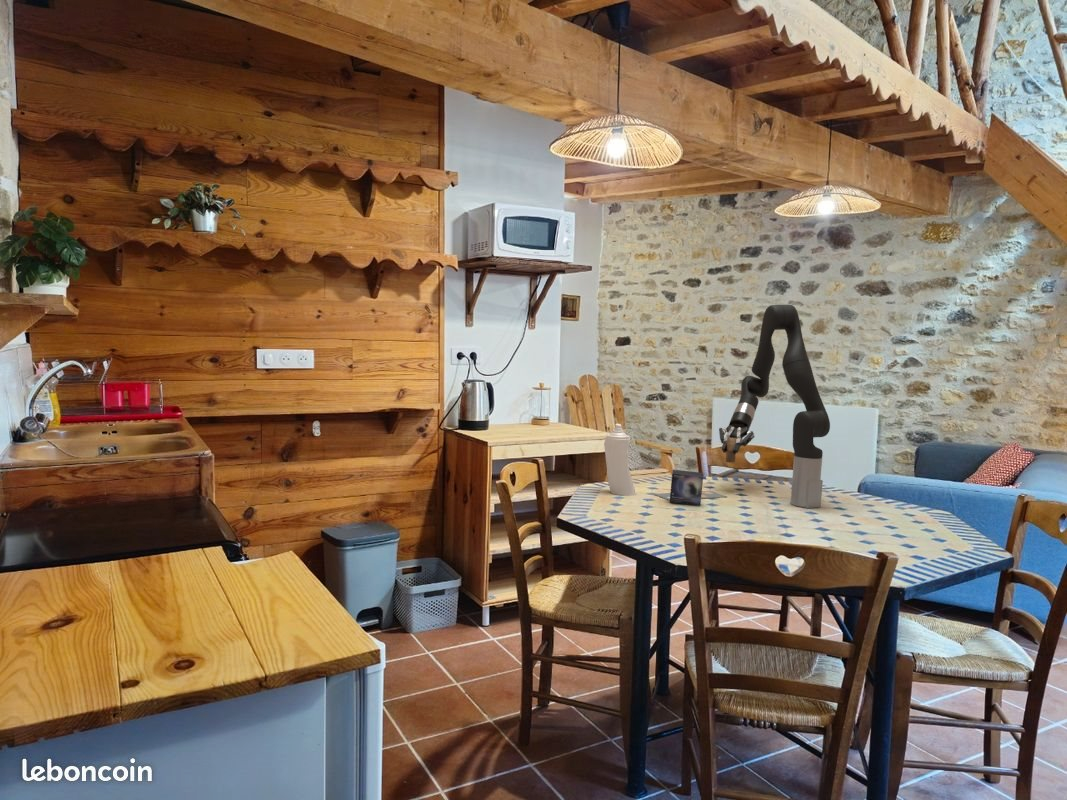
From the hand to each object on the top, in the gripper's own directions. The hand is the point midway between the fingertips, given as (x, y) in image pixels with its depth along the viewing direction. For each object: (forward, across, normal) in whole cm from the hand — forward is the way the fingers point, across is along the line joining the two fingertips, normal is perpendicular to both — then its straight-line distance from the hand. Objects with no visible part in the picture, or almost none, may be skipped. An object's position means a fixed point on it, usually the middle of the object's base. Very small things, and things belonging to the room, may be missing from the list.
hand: (729, 451), depth 259 cm
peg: (+1, 0, +4) cm, 5 cm away
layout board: (+22, -8, 0) cm, 23 cm away
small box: (+30, -4, -8) cm, 31 cm away
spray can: (+32, -29, -10) cm, 45 cm away
